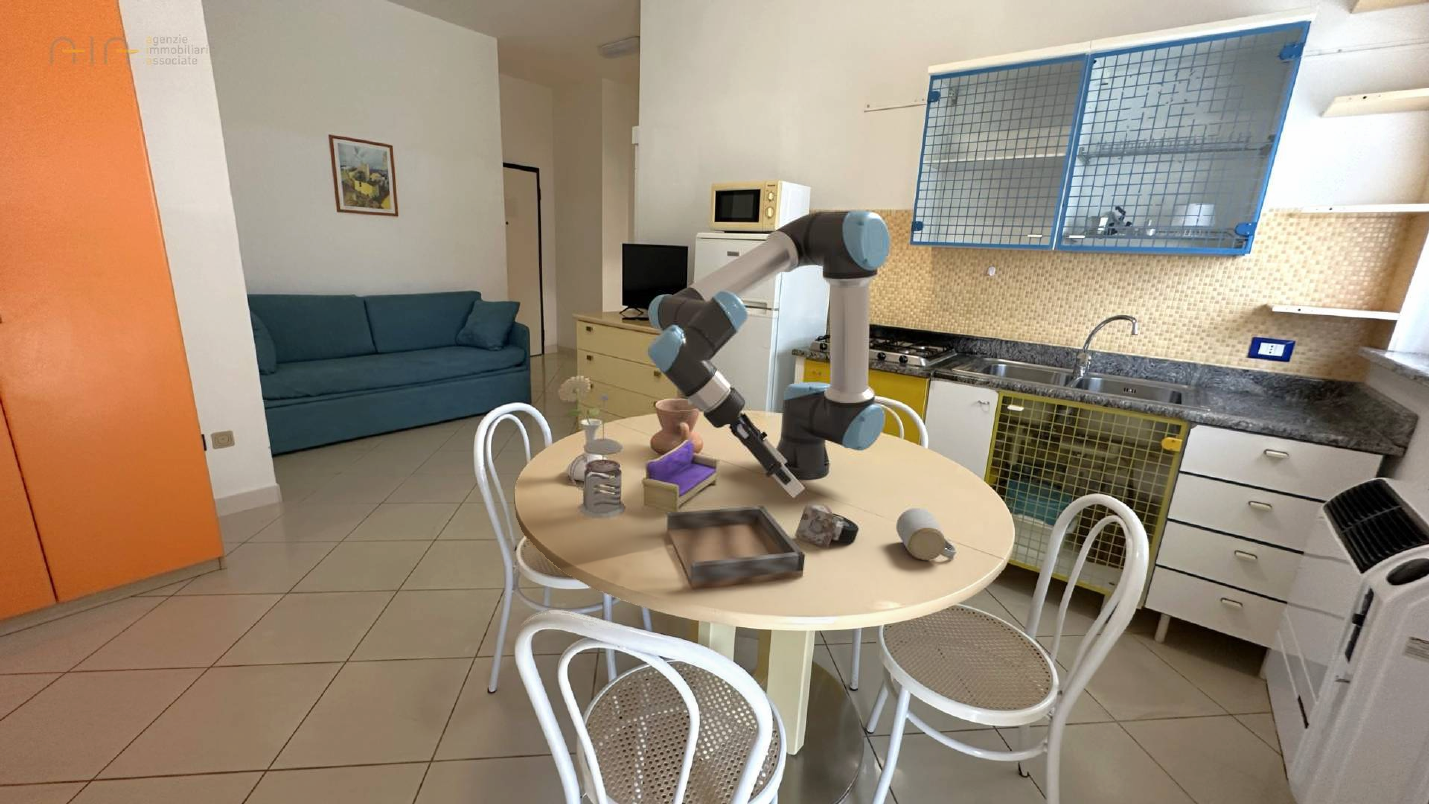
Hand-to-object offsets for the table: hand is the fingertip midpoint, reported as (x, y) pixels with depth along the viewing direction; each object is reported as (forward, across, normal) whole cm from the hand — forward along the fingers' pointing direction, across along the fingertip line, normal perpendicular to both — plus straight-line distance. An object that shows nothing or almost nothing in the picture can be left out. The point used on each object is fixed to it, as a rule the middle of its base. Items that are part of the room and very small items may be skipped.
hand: (789, 478), depth 109 cm
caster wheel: (+16, -1, -3) cm, 16 cm away
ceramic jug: (-4, -48, -23) cm, 53 cm away
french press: (-17, -13, -36) cm, 41 cm away
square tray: (+1, +5, -17) cm, 18 cm away
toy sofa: (-4, -21, -23) cm, 32 cm away
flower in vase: (-20, -31, -38) cm, 53 cm away
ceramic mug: (+28, +5, +10) cm, 30 cm away
